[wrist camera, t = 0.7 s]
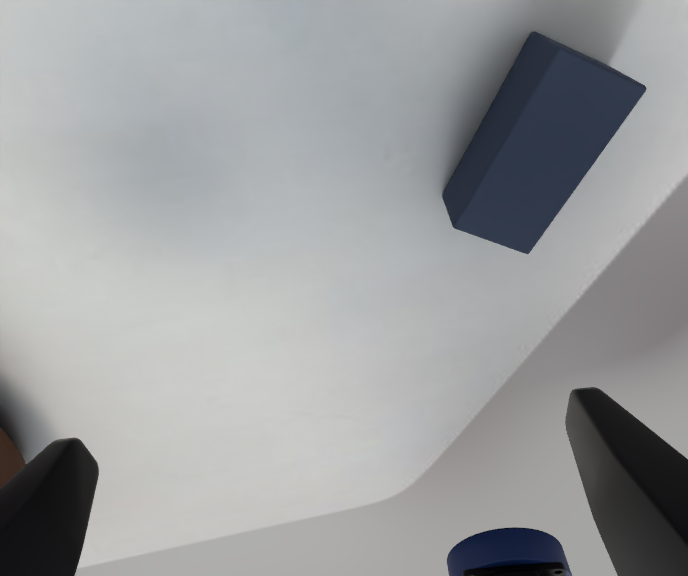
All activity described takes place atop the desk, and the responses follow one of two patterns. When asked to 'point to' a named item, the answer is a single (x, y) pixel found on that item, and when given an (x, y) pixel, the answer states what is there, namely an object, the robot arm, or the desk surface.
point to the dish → (9, 459)
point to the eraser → (537, 143)
